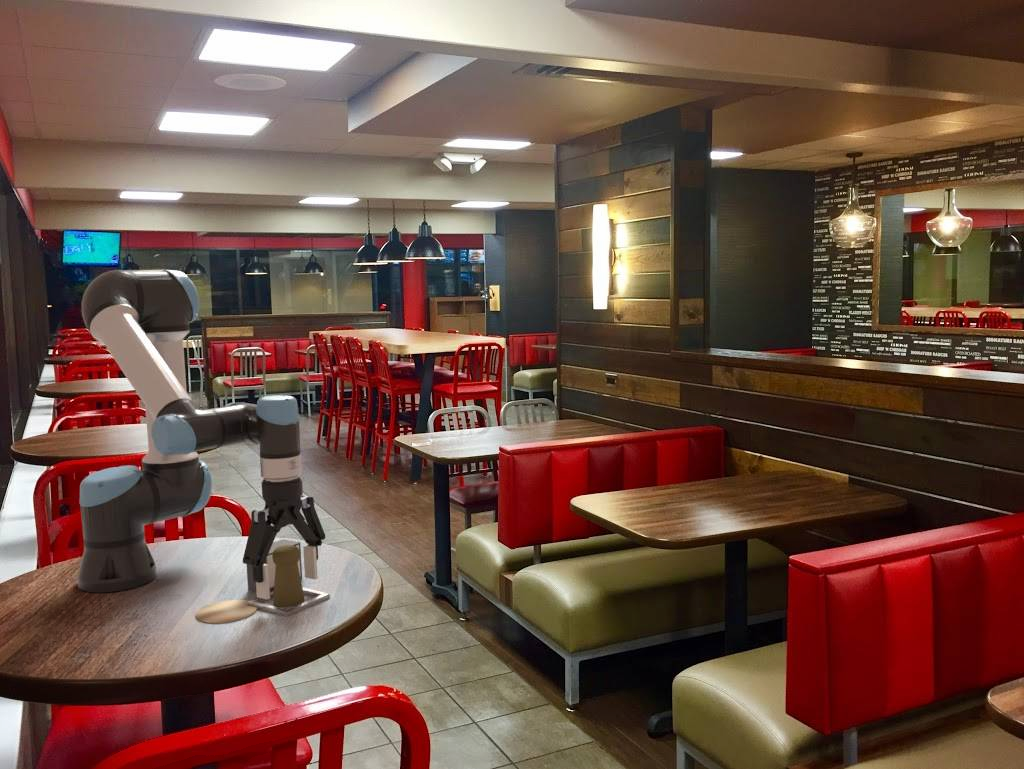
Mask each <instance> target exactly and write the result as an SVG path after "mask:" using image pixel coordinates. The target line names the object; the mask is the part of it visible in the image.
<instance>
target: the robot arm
mask: <svg viewBox="0 0 1024 769" xmlns="http://www.w3.org/2000/svg"><path fill="white" fill-rule="evenodd" d="M200 307H201V306H200V297H199V294H198V290H197V287H196V286H195V283H194V282H193V281H192V280H191V278H190V277H189V276H188V274H185V272H183V271H180V270H177V269H175V270H173V269H163V268H161V269H127V270H126V269H114V270H109V271H106V272H103V273H102V274H100V275H98V276H96V277H95V278H94V279H93V280H92V281H91V282H90V283H89V284H88V286H87V287H86V289H85V291H84V293H83V296H82V299H81V316H82V319H83V322H84V324H85V327H86V329H87V330H88V331H89V333H90V335H91V336H92V337H93V339H95V340H96V341H98V342H102V343H103V345H104V346H105V348H106V349H107V350H108V352H109V354H110V355H111V356H112V358H113V359H114V361H115V363H116V364H117V365H118V367H119V368H120V370H121V371H122V373H123V375H124V376H125V377H126V379H127V381H129V384H130V385H131V386H132V388H133V389H134V391H135V392H136V393H137V396H138V397H139V398H140V400H141V401H142V403H143V404H144V406H145V420H146V422H145V423H146V432H147V433H146V434H147V444H148V445H147V446H148V452H147V453H146V454H145V455H144V456H143V458H142V459H141V466H142V470H140V468H139V467H138V466H136V465H120V466H117V467H116V466H113V467H108V468H103V469H101V470H98V471H95V472H93V473H91V474H89V475H88V476H85V477H84V478H83V479H82V480H81V482H80V485H79V499H78V500H79V505H80V516H81V525H82V526H81V527H82V536H83V538H82V539H83V554H82V557H81V561H80V566H79V569H78V573H77V577H76V578H77V588H78V589H79V590H81V591H83V592H88V593H112V592H120V591H126V590H130V589H133V588H137V587H139V586H140V587H141V586H143V585H145V584H147V583H150V582H152V581H153V580H154V579H155V578H156V577H157V566H156V565H157V564H156V562H155V560H154V558H153V554H152V553H151V551H150V549H149V546H148V545H147V542H146V536H145V535H146V534H145V526H147V525H152V524H155V523H159V522H164V521H168V520H172V519H176V518H184V517H187V516H189V515H191V514H194V513H197V512H200V511H202V510H203V509H204V508H205V506H206V505H207V504H208V502H209V501H210V498H211V494H212V488H213V479H212V474H211V472H210V471H209V467H208V465H207V464H206V463H205V462H204V461H203V460H200V457H199V453H198V452H201V451H207V450H211V449H217V448H223V447H224V448H225V447H229V446H234V445H240V444H245V443H246V444H247V443H248V444H249V443H250V444H256V445H258V447H259V458H260V461H259V462H260V463H259V465H260V467H259V468H260V477H261V478H263V479H262V480H261V496H262V499H263V500H264V509H260V510H256V509H254V510H252V511H251V512H250V515H251V516H250V517H251V524H250V528H249V532H248V536H247V541H246V545H245V548H244V553H243V557H242V564H244V565H246V564H249V565H252V567H253V580H254V582H256V591H257V593H256V598H258V597H259V598H263V599H269V598H270V589H269V573H268V564H264V563H265V560H266V558H267V556H268V553H269V551H270V549H271V546H272V544H273V542H275V539H276V536H277V534H278V533H279V532H281V529H282V528H285V527H287V526H288V525H293V527H294V529H295V530H296V531H297V532H298V534H299V535H300V536H301V537H302V539H303V540H304V542H305V543H306V544H305V545H303V546H302V548H303V565H304V578H306V579H309V580H310V579H311V580H317V579H319V576H318V562H317V561H318V560H319V547H321V546H322V544H323V541H324V540H325V539H326V534H325V530H324V529H323V526H322V523H321V521H320V518H319V516H318V513H317V511H316V509H315V500H314V497H313V496H311V495H310V496H308V495H303V494H304V489H303V478H302V477H301V476H300V475H301V474H302V455H301V436H300V435H301V433H300V432H301V430H300V419H301V417H300V413H299V405H298V401H297V398H296V397H294V396H291V395H287V394H286V395H280V394H279V395H266V396H262V397H260V398H258V399H257V401H256V404H254V403H247V402H244V401H240V402H230V403H227V404H225V405H224V406H221V407H212V408H207V409H199V407H197V405H196V404H195V403H194V401H193V400H192V398H191V397H190V396H189V393H188V391H187V381H186V380H187V379H186V376H187V375H186V366H185V364H186V363H185V350H184V349H185V348H184V339H185V337H187V335H188V334H189V333H190V332H191V331H190V330H191V329H190V324H192V323H193V322H195V321H196V320H197V318H198V316H199V314H198V313H199V312H200ZM301 512H302V513H301ZM259 557H260V558H259ZM258 558H259V559H258ZM269 600H270V599H269Z"/></svg>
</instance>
